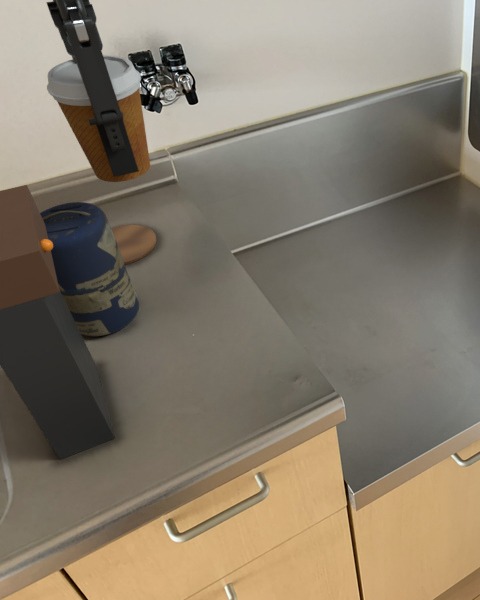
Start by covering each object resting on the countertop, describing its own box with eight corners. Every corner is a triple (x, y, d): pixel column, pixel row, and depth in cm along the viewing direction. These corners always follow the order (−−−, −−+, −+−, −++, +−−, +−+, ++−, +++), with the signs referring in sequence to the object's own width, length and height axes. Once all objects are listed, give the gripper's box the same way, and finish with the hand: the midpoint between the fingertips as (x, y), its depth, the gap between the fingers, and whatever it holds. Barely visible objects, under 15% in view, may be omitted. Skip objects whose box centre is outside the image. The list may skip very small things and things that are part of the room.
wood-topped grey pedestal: (115, 360, 81) (36, 182, 63) (136, 430, 73) (50, 247, 55) (47, 384, 78) (-57, 203, 60) (60, 459, 70) (-57, 275, 52)
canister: (132, 340, 84) (88, 232, 72) (61, 343, 84) (5, 235, 72) (148, 294, 91) (111, 190, 79) (83, 297, 91) (36, 192, 79)
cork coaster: (70, 255, 99) (69, 253, 98) (121, 221, 106) (120, 218, 106) (122, 274, 95) (121, 271, 95) (170, 237, 102) (170, 234, 102)
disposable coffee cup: (154, 188, 70) (124, 86, 62) (69, 191, 70) (28, 88, 62) (171, 149, 77) (146, 52, 69) (94, 151, 77) (60, 54, 69)
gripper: (108, -44, 52) (172, 189, 67) (75, -86, 66) (134, 115, 81) (10, -34, 49) (99, 206, 64) (-4, -80, 63) (73, 126, 78)
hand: (118, 155), depth 72 cm, fingers closed on disposable coffee cup, 8 cm apart
